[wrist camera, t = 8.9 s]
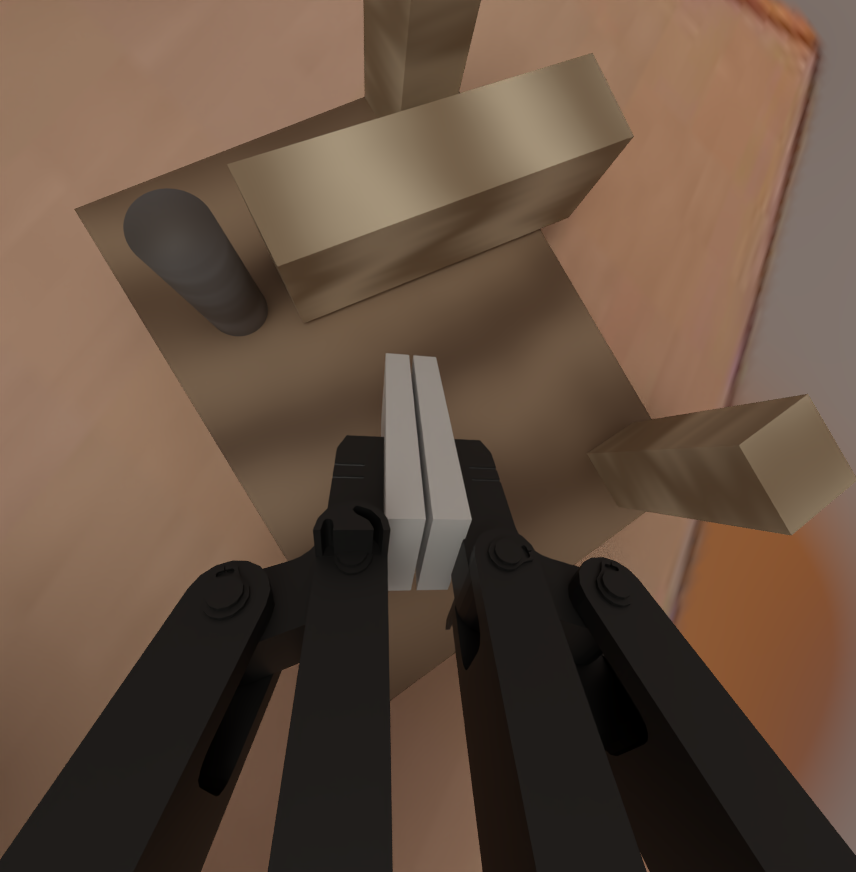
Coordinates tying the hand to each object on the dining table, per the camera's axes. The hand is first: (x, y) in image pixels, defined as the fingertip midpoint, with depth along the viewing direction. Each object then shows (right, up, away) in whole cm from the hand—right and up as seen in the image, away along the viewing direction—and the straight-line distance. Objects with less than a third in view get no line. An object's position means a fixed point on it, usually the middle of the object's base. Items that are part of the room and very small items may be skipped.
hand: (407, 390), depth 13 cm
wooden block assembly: (0, +2, +6) cm, 7 cm away
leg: (+1, +8, +4) cm, 9 cm away
